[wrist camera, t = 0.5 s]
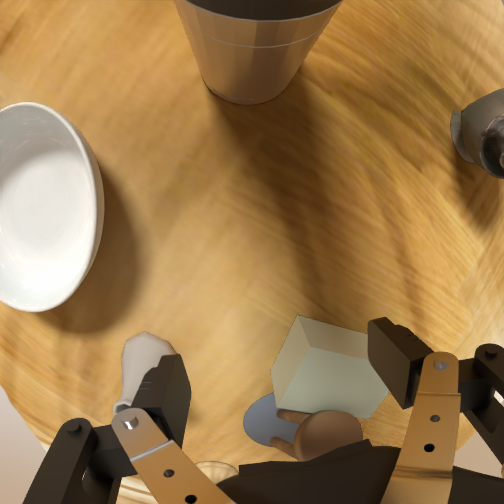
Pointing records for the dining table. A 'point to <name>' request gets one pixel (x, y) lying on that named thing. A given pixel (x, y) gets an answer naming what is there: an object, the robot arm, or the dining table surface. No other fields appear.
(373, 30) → the dining table surface
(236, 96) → the robot arm
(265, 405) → the mat
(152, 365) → the flask
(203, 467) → the hand bell
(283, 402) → the box
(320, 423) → the stool
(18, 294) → the serving bowl
